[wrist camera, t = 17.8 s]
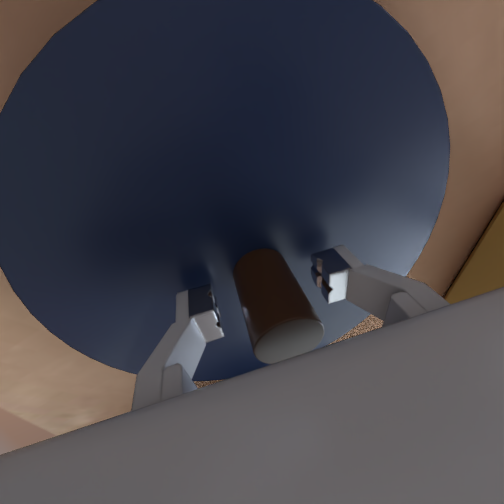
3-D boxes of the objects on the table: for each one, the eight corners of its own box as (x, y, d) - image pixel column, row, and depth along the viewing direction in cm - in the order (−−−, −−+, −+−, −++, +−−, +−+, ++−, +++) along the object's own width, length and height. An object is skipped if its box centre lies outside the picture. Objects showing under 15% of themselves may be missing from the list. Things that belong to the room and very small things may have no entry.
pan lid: (-217, 47, 5) (-1462, -61, 1) (505, -74, 7) (928, -276, 3) (147, 394, 17) (137, 491, 13) (387, 315, 19) (443, 378, 15)
